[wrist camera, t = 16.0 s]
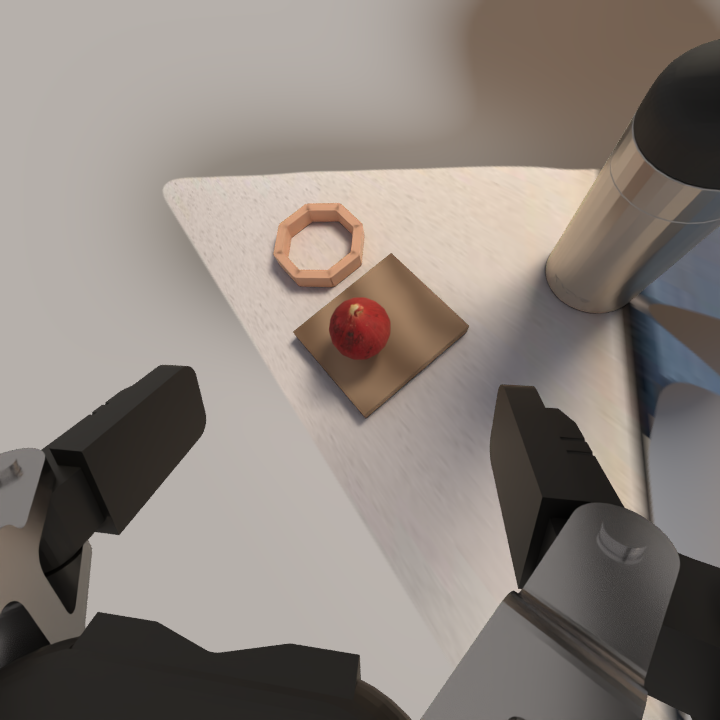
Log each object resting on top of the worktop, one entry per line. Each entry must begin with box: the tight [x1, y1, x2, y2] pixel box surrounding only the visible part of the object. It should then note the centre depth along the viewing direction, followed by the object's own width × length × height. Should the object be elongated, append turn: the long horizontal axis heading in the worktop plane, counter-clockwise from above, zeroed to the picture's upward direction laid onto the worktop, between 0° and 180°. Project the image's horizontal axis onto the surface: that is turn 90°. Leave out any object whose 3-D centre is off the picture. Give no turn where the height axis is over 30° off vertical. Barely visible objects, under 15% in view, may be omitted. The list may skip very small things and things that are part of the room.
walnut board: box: [293, 253, 469, 418], centre depth 41 cm, size 14×12×2 cm
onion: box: [329, 297, 391, 360], centre depth 36 cm, size 6×6×8 cm
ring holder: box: [274, 203, 365, 287], centre depth 45 cm, size 10×10×2 cm
